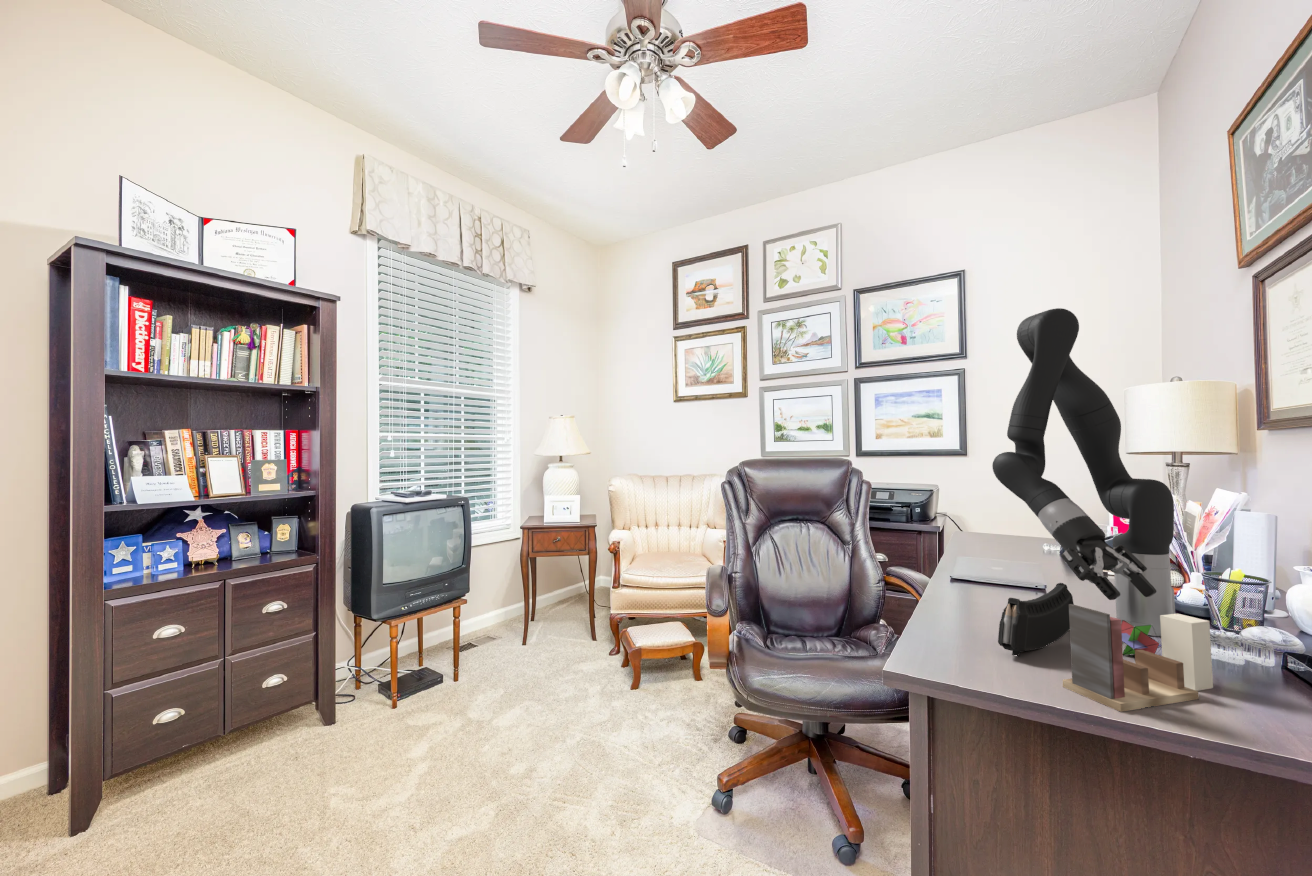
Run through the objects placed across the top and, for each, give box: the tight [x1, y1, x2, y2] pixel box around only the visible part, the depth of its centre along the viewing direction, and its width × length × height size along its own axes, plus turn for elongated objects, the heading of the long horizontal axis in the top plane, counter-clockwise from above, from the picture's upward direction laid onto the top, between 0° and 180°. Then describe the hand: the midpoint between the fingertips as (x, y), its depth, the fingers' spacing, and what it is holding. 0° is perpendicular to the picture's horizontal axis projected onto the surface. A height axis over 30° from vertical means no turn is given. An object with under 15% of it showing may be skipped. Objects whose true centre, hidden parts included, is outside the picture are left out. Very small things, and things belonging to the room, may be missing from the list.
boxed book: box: [1160, 613, 1214, 692], centre depth 89 cm, size 4×4×11 cm
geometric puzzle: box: [1121, 620, 1162, 659], centre depth 101 cm, size 7×7×8 cm
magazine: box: [997, 582, 1075, 657], centre depth 110 cm, size 17×3×30 cm
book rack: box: [1062, 604, 1199, 713], centre depth 86 cm, size 16×9×14 cm, turn 103°
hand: (1134, 596), depth 97 cm, fingers open, 8 cm apart
